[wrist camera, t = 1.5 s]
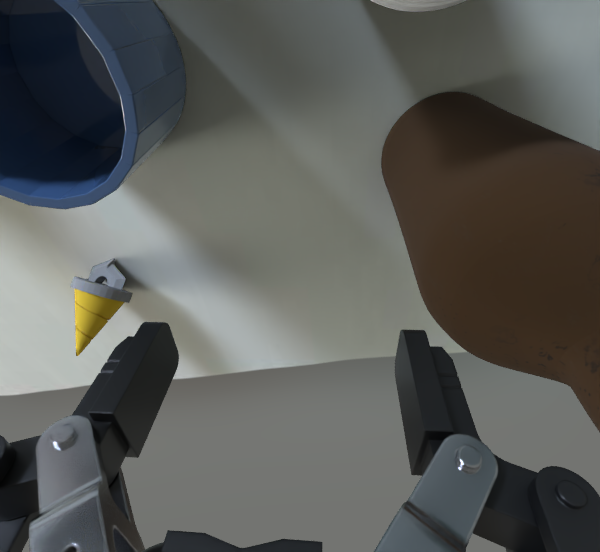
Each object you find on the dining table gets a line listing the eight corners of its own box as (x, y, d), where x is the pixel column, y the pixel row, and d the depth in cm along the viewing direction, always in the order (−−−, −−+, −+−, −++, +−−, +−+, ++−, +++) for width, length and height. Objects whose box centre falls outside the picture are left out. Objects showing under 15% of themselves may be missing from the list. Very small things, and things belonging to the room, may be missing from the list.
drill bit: (153, 270, 38) (118, 364, 37) (115, 259, 40) (81, 348, 39) (112, 256, 33) (71, 364, 32) (72, 244, 35) (31, 346, 34)
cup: (-18, 71, 26) (-156, 103, 18) (44, -105, 21) (-113, -165, 13) (136, 181, 31) (79, 244, 24) (219, 63, 26) (182, 93, 18)
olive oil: (354, 122, 28) (473, 418, 9) (497, 53, 25) (1180, 258, 6) (394, 229, 34) (520, 554, 14) (514, 183, 31) (879, 509, 11)
